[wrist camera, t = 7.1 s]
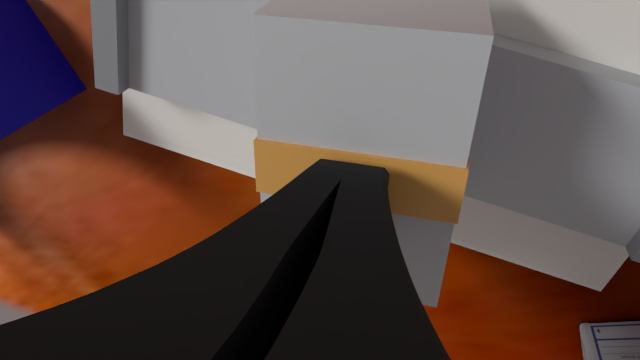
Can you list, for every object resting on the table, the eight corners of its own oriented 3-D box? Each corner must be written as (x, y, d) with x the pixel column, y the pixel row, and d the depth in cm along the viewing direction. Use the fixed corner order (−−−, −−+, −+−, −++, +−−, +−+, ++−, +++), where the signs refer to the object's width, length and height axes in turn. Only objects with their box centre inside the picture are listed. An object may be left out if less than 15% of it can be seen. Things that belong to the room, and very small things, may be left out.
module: (486, -24, 12) (498, 37, 8) (446, 187, 15) (438, 311, 11) (319, -34, 13) (246, 15, 8) (315, 167, 16) (261, 276, 12)
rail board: (816, -6, 12) (885, 20, 10) (596, 279, 18) (613, 331, 16) (129, -189, 13) (71, -198, 11) (132, 128, 19) (93, 157, 17)
